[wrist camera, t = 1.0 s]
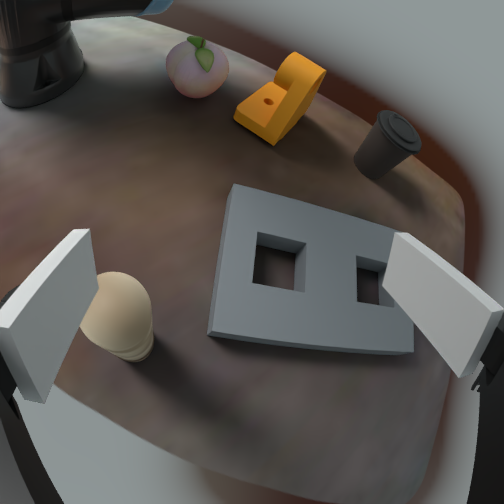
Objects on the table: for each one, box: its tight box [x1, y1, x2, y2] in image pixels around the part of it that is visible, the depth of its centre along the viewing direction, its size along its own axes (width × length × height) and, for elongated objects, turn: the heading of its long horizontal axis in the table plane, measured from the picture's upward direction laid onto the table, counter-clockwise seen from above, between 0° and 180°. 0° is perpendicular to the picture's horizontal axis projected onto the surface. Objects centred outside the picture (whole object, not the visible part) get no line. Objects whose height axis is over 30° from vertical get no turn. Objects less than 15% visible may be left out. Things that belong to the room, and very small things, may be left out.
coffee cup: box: [354, 110, 421, 179], centre depth 43 cm, size 8×8×10 cm
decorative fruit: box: [166, 36, 229, 98], centre depth 38 cm, size 9×8×10 cm
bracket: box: [233, 52, 326, 146], centre depth 39 cm, size 11×7×12 cm, turn 148°
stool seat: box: [207, 184, 414, 355], centre depth 35 cm, size 24×16×3 cm, turn 84°
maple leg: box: [80, 272, 154, 362], centre depth 21 cm, size 4×4×15 cm
